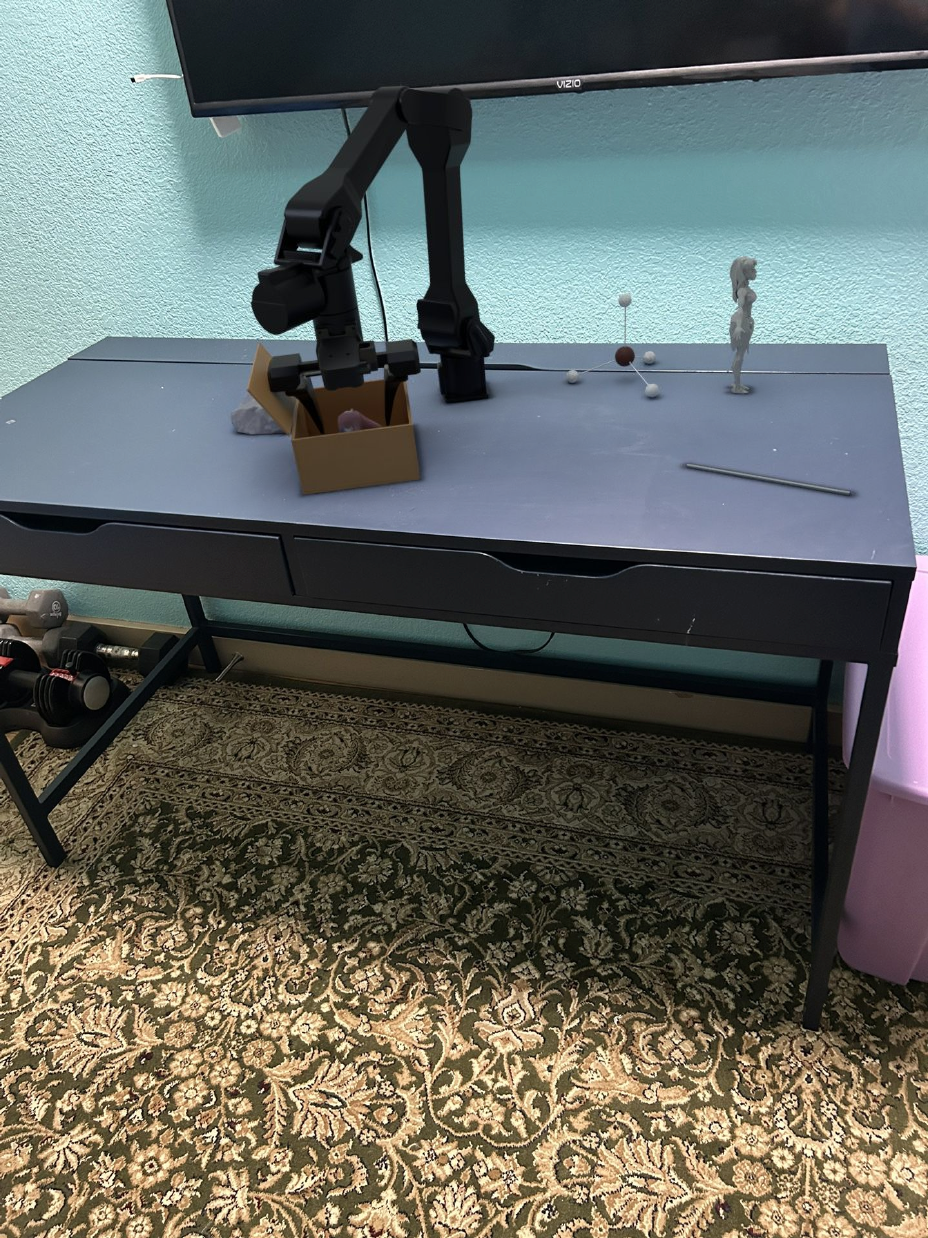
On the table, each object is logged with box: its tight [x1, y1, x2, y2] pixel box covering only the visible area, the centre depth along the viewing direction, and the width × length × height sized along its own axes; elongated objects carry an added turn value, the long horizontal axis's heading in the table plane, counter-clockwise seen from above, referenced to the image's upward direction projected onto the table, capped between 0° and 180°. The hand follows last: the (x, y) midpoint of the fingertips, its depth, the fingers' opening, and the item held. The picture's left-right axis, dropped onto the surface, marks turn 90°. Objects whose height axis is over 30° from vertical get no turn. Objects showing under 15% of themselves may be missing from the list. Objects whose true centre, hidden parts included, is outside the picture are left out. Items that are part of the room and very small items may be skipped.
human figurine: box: [728, 255, 758, 394], centre depth 121 cm, size 12×4×18 cm, turn 163°
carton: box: [290, 378, 421, 496], centre depth 117 cm, size 17×15×7 cm
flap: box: [246, 342, 295, 437], centre depth 113 cm, size 17×7×1 cm
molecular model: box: [565, 293, 660, 398], centre depth 128 cm, size 13×15×13 cm
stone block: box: [230, 394, 296, 436], centre depth 133 cm, size 12×5×10 cm
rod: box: [685, 463, 852, 497], centre depth 104 cm, size 1×19×1 cm, turn 58°
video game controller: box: [338, 409, 382, 433], centre depth 118 cm, size 10×5×7 cm, turn 6°
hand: (355, 429), depth 117 cm, fingers open, 8 cm apart
